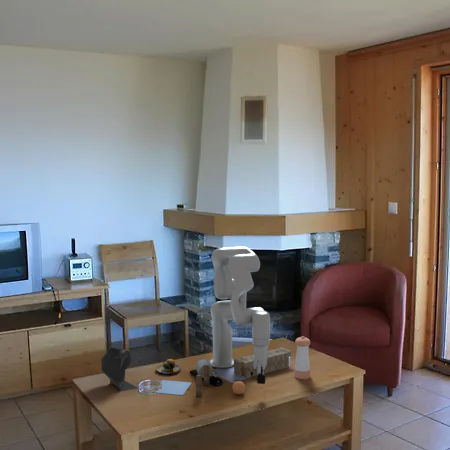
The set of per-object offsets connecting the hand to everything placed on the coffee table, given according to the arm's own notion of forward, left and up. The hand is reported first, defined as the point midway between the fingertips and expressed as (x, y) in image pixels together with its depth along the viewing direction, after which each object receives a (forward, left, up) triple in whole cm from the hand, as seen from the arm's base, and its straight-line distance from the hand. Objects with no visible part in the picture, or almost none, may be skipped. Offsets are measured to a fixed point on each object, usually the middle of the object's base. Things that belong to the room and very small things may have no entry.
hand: (261, 383), depth 238 cm
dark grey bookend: (+2, -65, -6) cm, 65 cm away
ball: (-1, -10, -3) cm, 10 cm away
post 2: (-7, -26, -6) cm, 27 cm away
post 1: (+6, -26, -6) cm, 27 cm away
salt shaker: (-27, +15, -6) cm, 31 cm away
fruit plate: (-20, -48, -6) cm, 52 cm away
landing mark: (-1, -40, -6) cm, 40 cm away
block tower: (-31, -4, -6) cm, 32 cm away
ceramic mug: (-17, -28, -6) cm, 33 cm away
